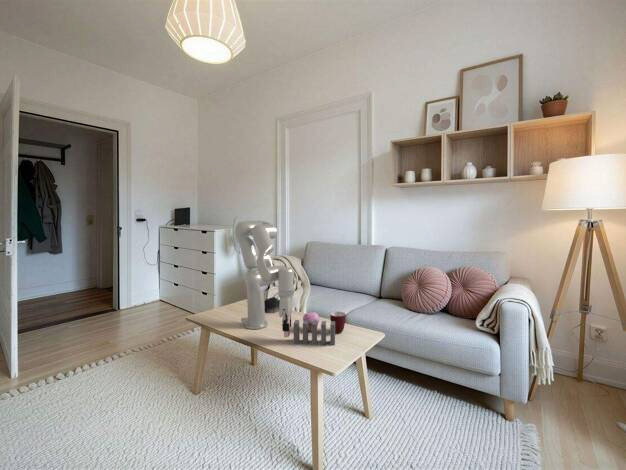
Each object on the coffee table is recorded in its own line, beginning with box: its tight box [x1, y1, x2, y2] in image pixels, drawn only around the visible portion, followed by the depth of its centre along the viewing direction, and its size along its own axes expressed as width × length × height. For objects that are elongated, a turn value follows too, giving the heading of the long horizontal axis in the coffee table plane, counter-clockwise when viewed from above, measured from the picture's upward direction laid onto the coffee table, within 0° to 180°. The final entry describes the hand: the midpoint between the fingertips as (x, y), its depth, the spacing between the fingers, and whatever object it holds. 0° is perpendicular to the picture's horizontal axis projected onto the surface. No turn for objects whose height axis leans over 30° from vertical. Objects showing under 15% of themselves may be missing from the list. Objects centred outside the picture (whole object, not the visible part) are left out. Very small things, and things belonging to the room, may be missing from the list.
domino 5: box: [329, 320, 336, 346], centre depth 150 cm, size 2×5×10 cm, turn 173°
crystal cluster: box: [264, 296, 280, 314], centre depth 201 cm, size 13×14×10 cm
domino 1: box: [293, 319, 300, 345], centre depth 152 cm, size 2×5×10 cm, turn 173°
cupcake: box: [302, 311, 320, 333], centre depth 166 cm, size 9×9×10 cm
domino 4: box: [320, 320, 327, 346], centre depth 150 cm, size 2×5×10 cm, turn 173°
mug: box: [329, 311, 347, 335], centre depth 164 cm, size 11×8×10 cm
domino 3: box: [311, 321, 318, 346], centre depth 151 cm, size 2×5×10 cm, turn 173°
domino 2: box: [302, 320, 309, 345], centre depth 151 cm, size 2×5×10 cm, turn 173°
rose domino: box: [283, 316, 291, 338], centre depth 152 cm, size 2×5×10 cm, turn 173°
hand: (287, 328), depth 152 cm, fingers closed on rose domino, 4 cm apart
